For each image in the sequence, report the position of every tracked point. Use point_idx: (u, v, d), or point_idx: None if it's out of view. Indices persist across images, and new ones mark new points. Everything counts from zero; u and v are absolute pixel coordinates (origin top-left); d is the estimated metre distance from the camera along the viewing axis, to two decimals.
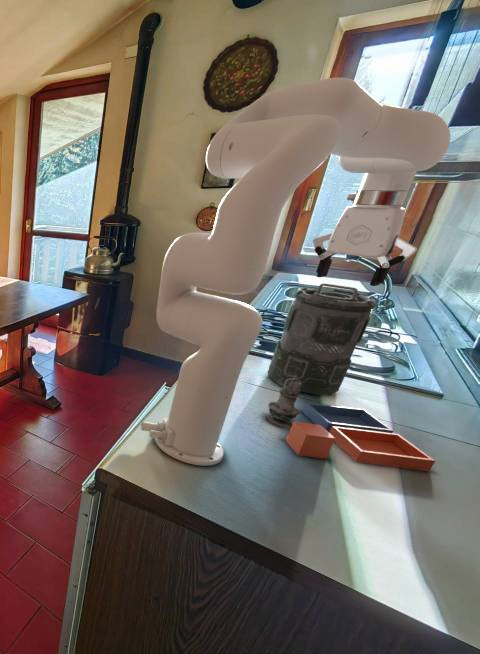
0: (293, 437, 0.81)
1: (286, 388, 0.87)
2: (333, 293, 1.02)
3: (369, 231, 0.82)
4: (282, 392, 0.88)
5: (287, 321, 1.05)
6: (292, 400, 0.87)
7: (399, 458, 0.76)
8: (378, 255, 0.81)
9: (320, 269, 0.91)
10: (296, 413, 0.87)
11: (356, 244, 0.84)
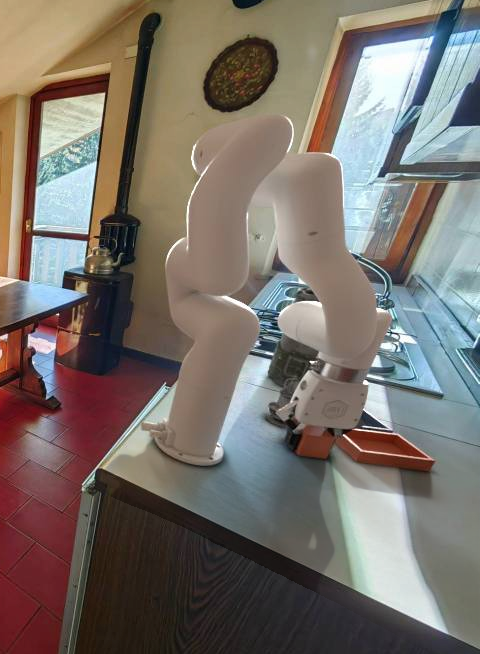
0: None
1: (286, 388, 0.87)
2: None
3: (345, 406, 0.73)
4: (282, 392, 0.88)
5: None
6: None
7: (399, 458, 0.76)
8: (352, 428, 0.75)
9: (296, 444, 0.79)
10: None
11: (331, 418, 0.75)
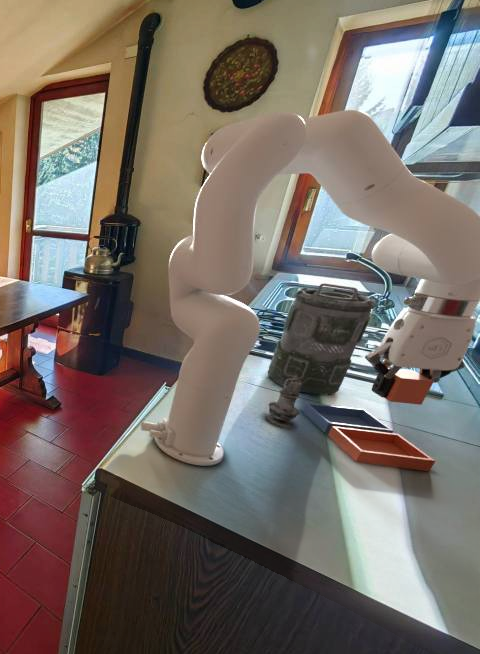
0: None
1: (286, 388, 0.87)
2: (333, 293, 1.02)
3: (448, 344, 0.68)
4: (282, 392, 0.88)
5: (287, 321, 1.05)
6: (292, 400, 0.87)
7: (399, 458, 0.76)
8: (454, 368, 0.69)
9: (388, 389, 0.74)
10: (296, 413, 0.87)
11: (431, 358, 0.69)
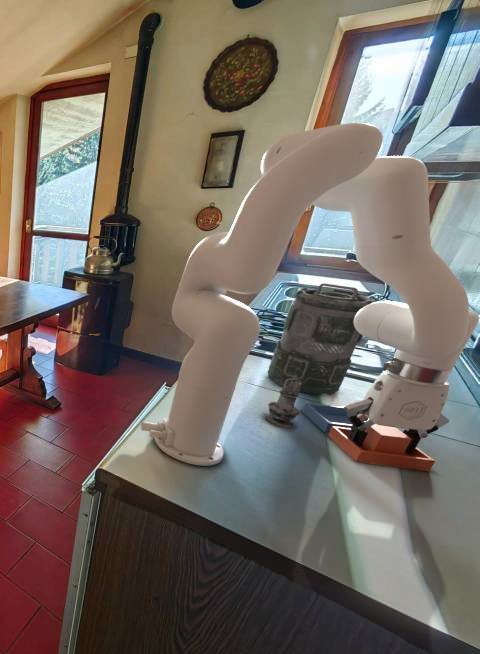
0: None
1: (286, 388, 0.87)
2: (333, 293, 1.02)
3: (423, 407, 0.73)
4: (282, 392, 0.88)
5: (287, 321, 1.05)
6: (292, 400, 0.87)
7: (399, 458, 0.76)
8: (429, 429, 0.74)
9: (361, 441, 0.79)
10: (296, 413, 0.87)
11: (408, 418, 0.74)
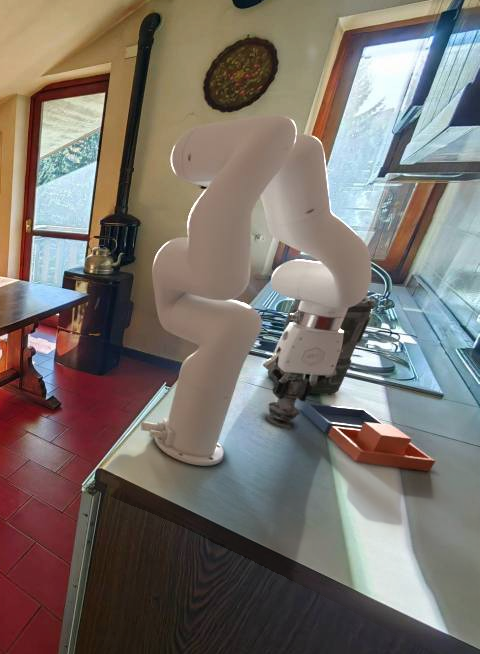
0: (365, 437, 0.81)
1: None
2: None
3: (322, 353, 0.81)
4: None
5: (287, 321, 1.05)
6: (292, 400, 0.87)
7: (399, 458, 0.76)
8: (329, 374, 0.82)
9: (283, 392, 0.87)
10: (296, 413, 0.87)
11: (310, 364, 0.82)
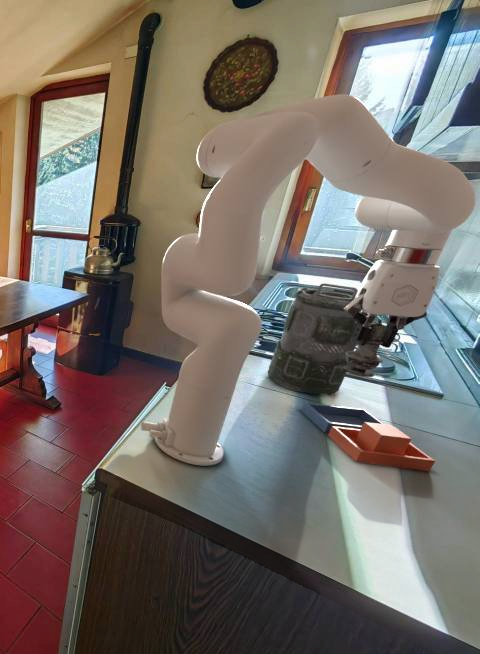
0: (365, 437, 0.81)
1: None
2: (333, 293, 1.02)
3: (415, 291, 0.75)
4: None
5: (287, 321, 1.05)
6: (375, 346, 0.81)
7: (399, 458, 0.76)
8: (421, 314, 0.76)
9: (366, 337, 0.81)
10: (379, 360, 0.81)
11: (400, 304, 0.76)
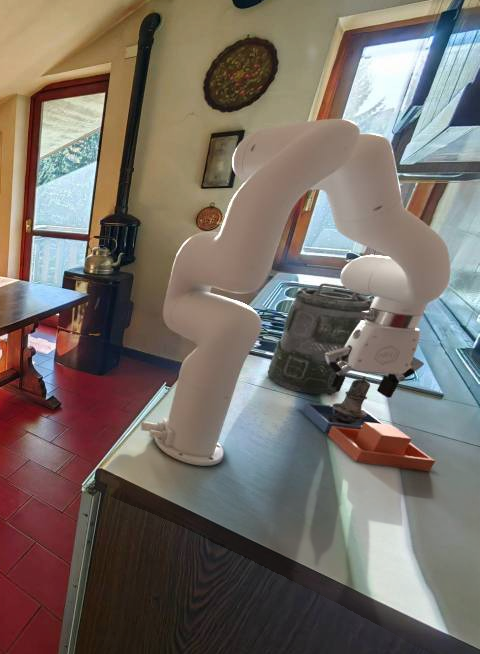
0: (365, 437, 0.81)
1: (353, 389, 0.86)
2: (333, 293, 1.02)
3: (397, 352, 0.79)
4: (349, 393, 0.87)
5: (287, 321, 1.05)
6: (360, 402, 0.86)
7: (399, 458, 0.76)
8: (402, 373, 0.81)
9: (340, 385, 0.85)
10: (363, 415, 0.86)
11: (383, 363, 0.81)
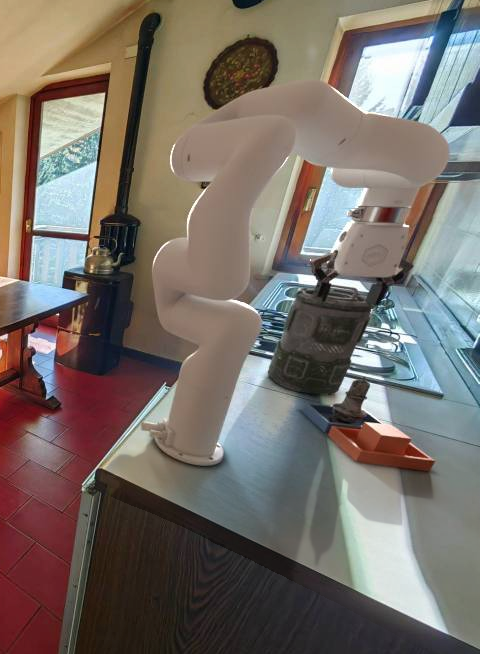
0: (365, 437, 0.81)
1: (353, 389, 0.86)
2: (333, 293, 1.02)
3: (385, 251, 0.75)
4: (349, 393, 0.87)
5: (287, 321, 1.05)
6: (360, 401, 0.86)
7: (399, 458, 0.76)
8: (391, 275, 0.77)
9: (326, 293, 0.81)
10: (363, 415, 0.86)
11: (371, 265, 0.77)
